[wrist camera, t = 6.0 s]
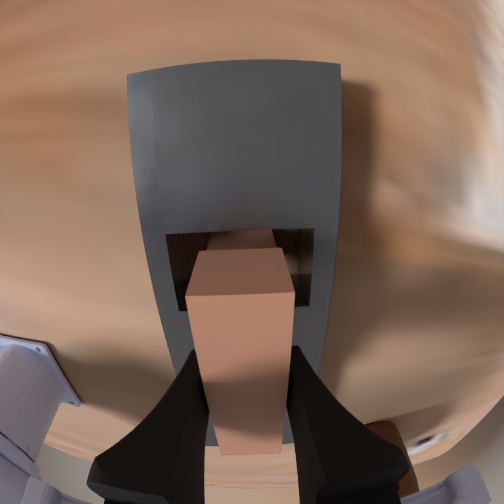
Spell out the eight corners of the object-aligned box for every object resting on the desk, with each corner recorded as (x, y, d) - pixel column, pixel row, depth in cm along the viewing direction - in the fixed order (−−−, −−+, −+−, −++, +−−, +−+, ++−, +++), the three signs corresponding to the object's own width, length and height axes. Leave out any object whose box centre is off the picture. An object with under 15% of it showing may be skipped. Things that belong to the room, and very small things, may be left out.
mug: (373, 458, 28) (389, 514, 20) (319, 469, 28) (330, 530, 20) (405, 412, 23) (434, 483, 15) (338, 427, 23) (358, 509, 15)
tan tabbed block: (225, 363, 18) (221, 454, 12) (210, 217, 14) (185, 296, 8) (270, 361, 18) (280, 452, 12) (271, 214, 14) (295, 292, 8)
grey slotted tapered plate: (204, 416, 21) (201, 445, 19) (150, 83, 11) (126, 74, 9) (299, 412, 21) (304, 441, 19) (320, 75, 11) (340, 64, 9)
